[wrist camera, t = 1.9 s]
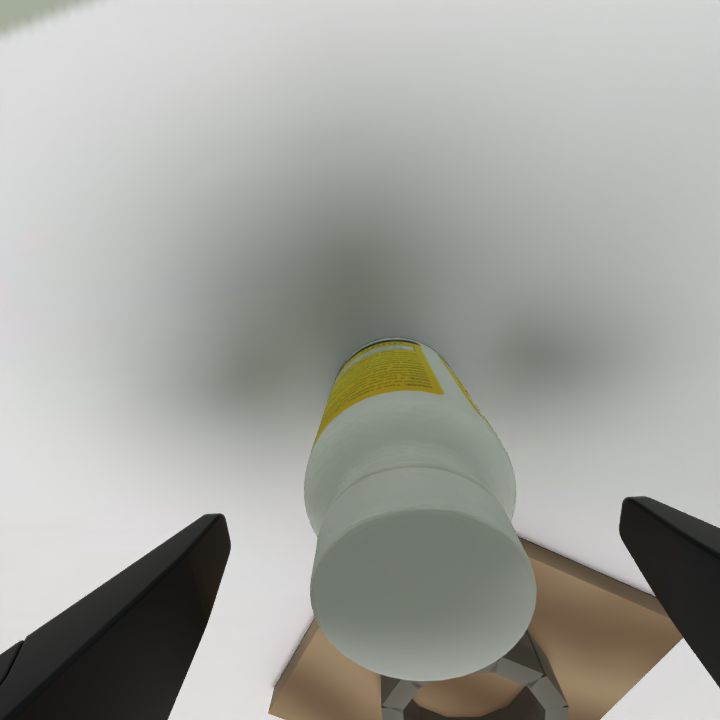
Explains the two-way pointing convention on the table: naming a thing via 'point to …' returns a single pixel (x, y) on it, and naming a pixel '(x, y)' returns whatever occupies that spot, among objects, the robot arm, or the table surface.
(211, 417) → the table surface
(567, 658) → the collar board
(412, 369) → the supplement bottle
